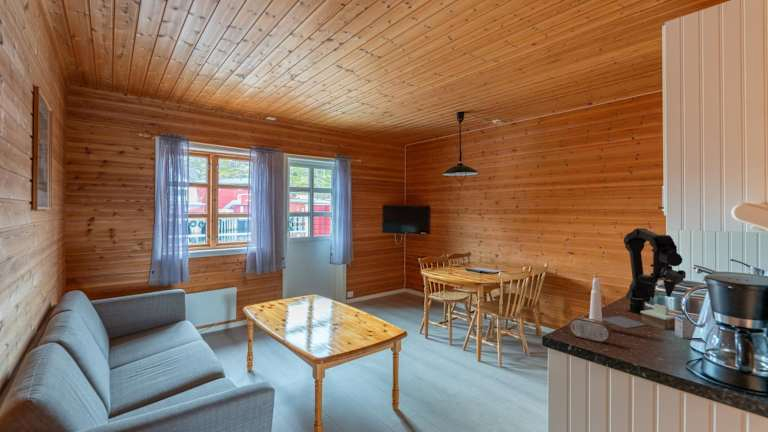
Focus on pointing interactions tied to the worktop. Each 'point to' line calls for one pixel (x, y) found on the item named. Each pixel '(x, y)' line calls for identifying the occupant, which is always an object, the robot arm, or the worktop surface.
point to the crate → (658, 322)
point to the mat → (623, 322)
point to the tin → (590, 329)
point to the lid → (660, 312)
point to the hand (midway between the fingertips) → (660, 297)
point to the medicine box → (684, 326)
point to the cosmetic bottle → (595, 301)
